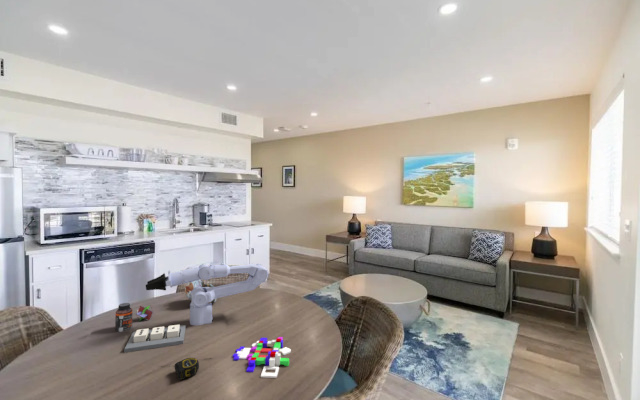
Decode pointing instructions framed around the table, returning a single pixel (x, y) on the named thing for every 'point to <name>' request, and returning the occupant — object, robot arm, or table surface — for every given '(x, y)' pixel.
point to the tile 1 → (157, 333)
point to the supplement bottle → (123, 317)
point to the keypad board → (155, 341)
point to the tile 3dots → (141, 335)
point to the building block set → (264, 356)
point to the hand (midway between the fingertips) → (146, 285)
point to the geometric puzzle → (144, 312)
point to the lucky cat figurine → (194, 284)
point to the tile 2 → (173, 331)
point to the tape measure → (186, 367)
